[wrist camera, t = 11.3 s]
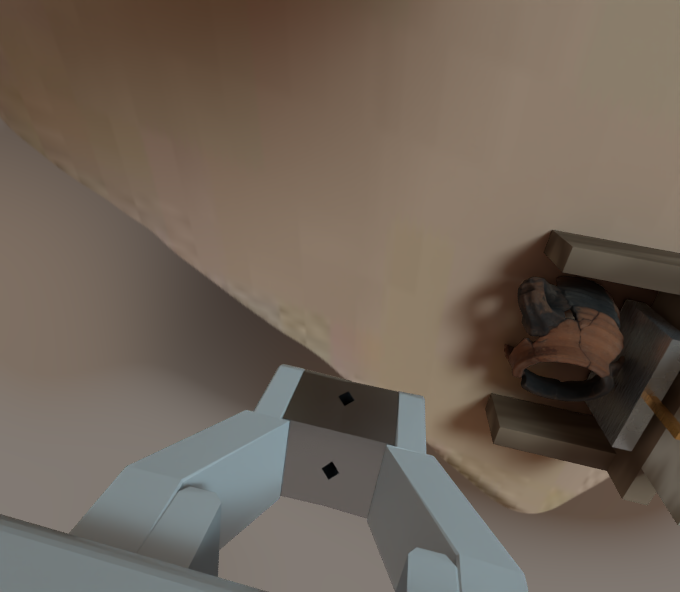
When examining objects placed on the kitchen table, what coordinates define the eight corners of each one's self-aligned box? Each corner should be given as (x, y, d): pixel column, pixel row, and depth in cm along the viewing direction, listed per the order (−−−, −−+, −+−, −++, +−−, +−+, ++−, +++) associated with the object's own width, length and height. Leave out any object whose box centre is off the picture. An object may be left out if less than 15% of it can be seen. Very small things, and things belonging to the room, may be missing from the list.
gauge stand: (552, 229, 34) (623, 287, 22) (705, 258, 33) (865, 334, 21) (485, 408, 42) (511, 521, 30) (606, 436, 41) (683, 565, 29)
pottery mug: (640, 317, 36) (651, 402, 32) (536, 339, 43) (532, 411, 38) (574, 229, 31) (575, 315, 27) (468, 270, 38) (455, 343, 34)
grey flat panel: (626, 299, 35) (709, 371, 25) (644, 302, 35) (736, 376, 25) (580, 393, 39) (636, 487, 29) (596, 397, 39) (658, 493, 29)
